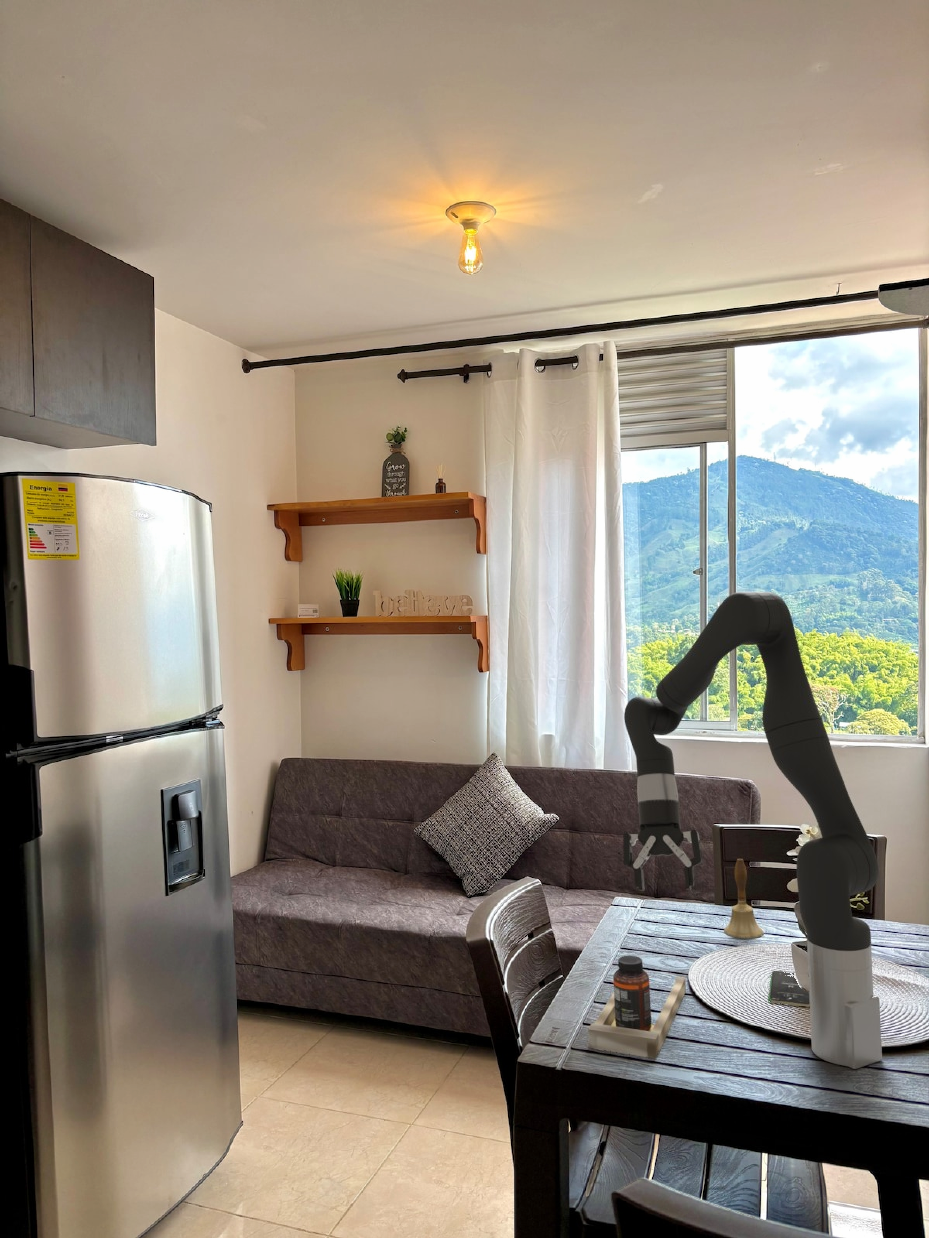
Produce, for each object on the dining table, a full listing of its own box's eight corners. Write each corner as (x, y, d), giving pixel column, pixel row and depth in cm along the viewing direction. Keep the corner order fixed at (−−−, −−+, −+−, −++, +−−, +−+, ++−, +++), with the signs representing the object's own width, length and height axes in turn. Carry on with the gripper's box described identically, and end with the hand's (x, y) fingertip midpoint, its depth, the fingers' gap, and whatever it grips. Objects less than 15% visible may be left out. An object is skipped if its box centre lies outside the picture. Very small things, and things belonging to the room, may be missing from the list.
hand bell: (716, 931, 193) (713, 858, 194) (740, 923, 198) (737, 852, 198) (746, 941, 186) (743, 866, 187) (771, 933, 191) (768, 859, 191)
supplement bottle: (649, 1020, 148) (647, 952, 149) (653, 1036, 142) (650, 965, 143) (614, 1019, 149) (611, 952, 149) (616, 1035, 143) (613, 965, 143)
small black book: (813, 973, 166) (813, 1004, 152) (813, 978, 166) (813, 1010, 152) (771, 969, 169) (767, 999, 155) (771, 974, 169) (767, 1004, 155)
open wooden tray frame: (627, 983, 165) (627, 967, 166) (685, 990, 161) (685, 974, 161) (588, 1047, 140) (588, 1029, 140) (656, 1058, 135) (655, 1039, 136)
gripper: (616, 800, 165) (622, 889, 159) (693, 795, 160) (702, 887, 154) (625, 805, 172) (630, 891, 166) (699, 801, 167) (707, 890, 161)
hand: (665, 889), depth 160 cm, fingers open, 8 cm apart
